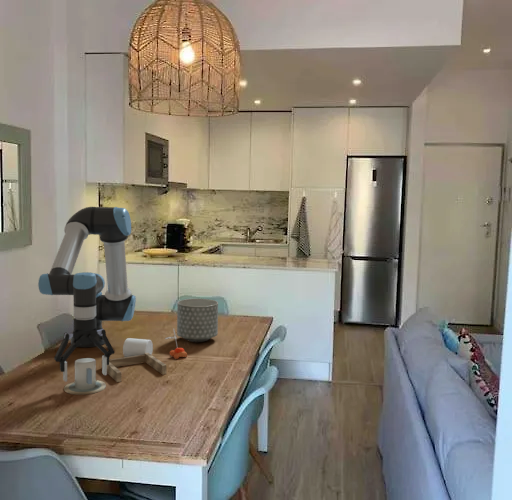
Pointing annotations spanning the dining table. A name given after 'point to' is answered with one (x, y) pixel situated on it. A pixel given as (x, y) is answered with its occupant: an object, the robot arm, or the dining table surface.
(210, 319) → the planter
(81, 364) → the blue handled white cup
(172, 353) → the orange lump with branch
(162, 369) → the wooden u-shaped frame
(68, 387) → the coaster
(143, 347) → the mug
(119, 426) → the dining table surface
